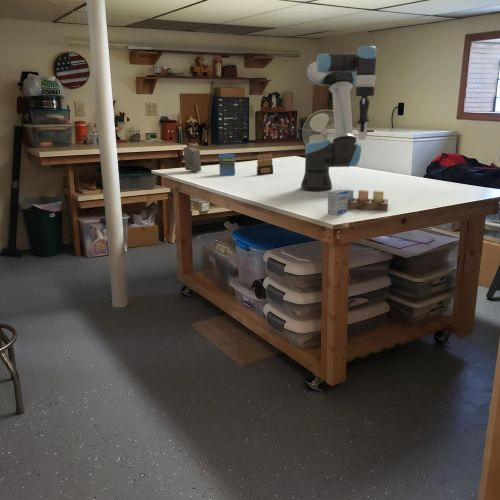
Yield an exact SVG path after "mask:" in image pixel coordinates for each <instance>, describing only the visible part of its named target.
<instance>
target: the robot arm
mask: <svg viewBox="0 0 500 500" xmlns="http://www.w3.org/2000/svg"><path fill="white" fill-rule="evenodd" d="M376 64H377V47H376V46H374V45H362V46H359V47H357V53H353V52H352V53H349V52H348V53H327V52H326V53H319V54H318V55H317V56H316V61H313V62H311V63H310V64H309V65H308V66H307V68H306V71H305V75H306V79H308V81H309V82H310V83H312V84H314V85H315V86H316V85H317V86H321V87H323V86H327V87H328V90H329V91H330V92H331V94H332V105H333V106H332V107H333V122H334V125H333V126H334V136H335V137H334V138H333V139H332V142H331V140H329V139H319V140H313V141H310V142H308V143H306V145H305V151H304V153H305V158H304V159H305V160H304V161H305V165H304V167H305V168H304V176H303V178H302V181H301V184H300V185H301V186H300V189H302V190H304V191H310V192H311V191H312V192H324V191H330V190H332V189H333V184H332V180H331V177H330V168H345V167H346V168H349V167H356V166H357V165H358V163H359V162H360V159H361V154H362V145H361V144H362V143H361V142H359V141H365V140H366V138H367V135H368V134H367V133H368V122H370V119H368V111H369V106H370V100H369V98H368V97H373V96H375V87H374V86H375V82H376V81H377V77H376ZM354 85H356V87H355V96H356V97H361V98H360V100H358V101H359V102H358V103H359V120H358V121H357V124H358V139H357V137H356V136H355V135H354V133H353V132H354V131H353V118H352V117H353V116H352V105H351V103H352V102H351V90H352V89H353V86H354ZM357 140H358V141H357Z"/></svg>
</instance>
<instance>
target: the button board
mask: <svg viewBox="0 0 500 500" xmlns="http://www.w3.org/2000/svg"><path fill="white" fill-rule="evenodd" d="M388 206H389V198H388V199H387V198H386V199H384V198H383V203H380V202H373V198H368V202H358V197H353V201H348V206H347V210H352V209H357V210H356V211H373V210H374V211H377V212H388V209H389V207H388Z"/></svg>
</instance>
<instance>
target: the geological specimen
mask: <svg viewBox="0 0 500 500" xmlns="http://www.w3.org/2000/svg"><path fill="white" fill-rule="evenodd" d="M182 150H183V155H184V168H185V170H186V171H191V172H193V173H199V172H201V171H202V165H201V164H202V163H201V161H202V159H201V151H200V149H198V148H195V147H189V146H186V147H183V149H182Z"/></svg>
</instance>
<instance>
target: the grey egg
mask: <svg viewBox="0 0 500 500" xmlns="http://www.w3.org/2000/svg"><path fill="white" fill-rule="evenodd" d="M346 190H347V191H348V201H353V198H354V192H355V191H354V189H346Z"/></svg>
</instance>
